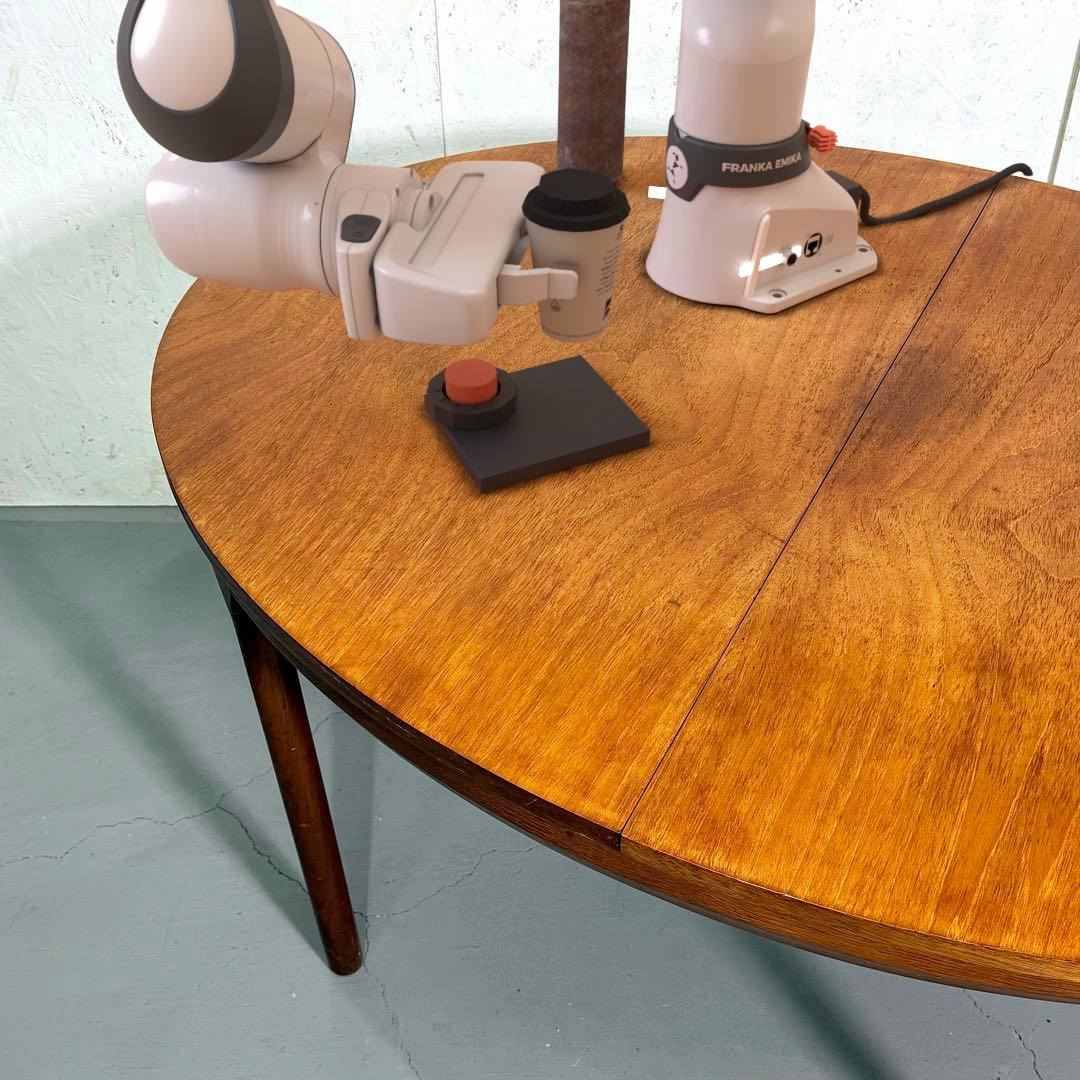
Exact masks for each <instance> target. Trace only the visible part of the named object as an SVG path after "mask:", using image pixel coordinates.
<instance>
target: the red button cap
mask: <svg viewBox="0 0 1080 1080" xmlns="http://www.w3.org/2000/svg"><path fill="white" fill-rule="evenodd" d="M495 367H496V366H494V364H492V363H491V362H489V361H487V360H484V359H479V358H465V359H461V360H457V361H455V362H452V363H451V364H449V365H448V367H446V368H447V369H446V368H445V369H446V371H445V385H446V394H447V396H448V398H449V399H450V400H451V401H454V402H456V403H459V404H470V405H476V404H480V403H484V402H487V401H490V400H492V399H493V398H494V397H495V396H496V394H497V371H496V368H495Z"/></svg>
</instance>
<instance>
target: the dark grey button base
mask: <svg viewBox="0 0 1080 1080" xmlns="http://www.w3.org/2000/svg"><path fill="white" fill-rule="evenodd" d="M494 367H495V368H496V371H497V394H496V396H495V397H494V398H493V399H492V400H490V401H487V402H484V403H480V404H476V405H470V404H459V403H456V402H454V401H451V400H450V399H449V398H448V396H447V394H446V385H445V371H446V369H447V368H448V367H445V368H443V369H442V370H440V372H438V373H436V374H435V375H434V376H432V377H431V378H429V380H428V381H429V382H428V384H427V388H426V390H425V391H426V392H425V394H423V400H424V401H423V402H424V410H425V411H426V412H427V414H428V415H429V417H430V418H431V420H432V421H433V423H434V425H435V426H436V428H437V429H438V431H439V432H440V433H441V435H442V436H443V438H444V439H445V441H446V443H447V444H448V445H449V447H450V449H451V450H452V452H453V453H454V454H455V456H456V457H457V459H458V460H459V462H460V463H461V465H462V466H463V468H464V469H465V471H466V472H467V474H468V476H469V477H470V478H471V480H472V481H473V483H474V484H475V486H476V487H477V490H479V492H480V493H481V494H485V493H488V492H492V491H496V490H499V489H503V488H506V487H509V486H513V485H516V484H521V483H523V482H526V481H529V480H533V479H537V478H540V477H544V476H548V475H551V474H554V473H557V472H562V471H564V470H569V469H572V468H574V467H578V466H582V465H585V464H589V463H592V462H595V461H599V460H602V459H606V458H609V457H612V456H615V455H620V454H622V453H627V452H629V451H633V450H637V449H640V448H644V447H648V446H650V444H651V443H650V442H651V429H650V427H648V426H647V425H646V424H645V423H644V421H642V419H641V418H640V417H639V416H638V415H637V414H636V413H635V412H634V411H633V410H632V409H631V407H630V406H629V405H628V404H627V403H626V402H625V401H624V400H623V399H622V397H620V395H619V394H618V393H617V392H616V391H615V390H614V389H613V388H612V387H611V386H610V385H609V383H608V382H607V381H606V380H605V379H604V378H603V377H602V376H601V375H600V374H599V373H598V372H597V371H596V369H595V368H594V367H593V366H592V365H591V364H590V363H589V362H588V361H587V359H585V358H584V356H583V355H582V354H578V355H574V356H570V357H566V358H562V359H557V360H554V361H551V362H546V363H542V364H538V365H533V366H531V367H527V368H526V367H525V368H523V369H519V370H515V371H511V372H508V371H507V370H505V369H502V368H499V367H496V366H494Z"/></svg>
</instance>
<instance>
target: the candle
mask: <svg viewBox="0 0 1080 1080" xmlns="http://www.w3.org/2000/svg"><path fill="white" fill-rule="evenodd" d="M630 16H631V0H559V17H558V18H559V26H558V27H559V29H558V30H559V31H558V87H557V88H558V90H557V91H558V93H557V97H558V98H557V138H556V139H557V140H556V170H561V169H567V168H572V169H580V170H586V171H591V172H597V173H601V174H603V175H605V176H608V177H609V178H610V179H611V180H612V181H613V183H614V182H616V181H618V182H619V181H621V179H622V177H623V173H624V154H625V153H624V152H625V131H626V108H627V107H626V105H627V82H628V81H627V79H628V61H629V41H630Z"/></svg>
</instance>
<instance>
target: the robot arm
mask: <svg viewBox="0 0 1080 1080" xmlns="http://www.w3.org/2000/svg"><path fill="white" fill-rule="evenodd" d="M816 4H817V0H681V16H680V17H681V19H680V34H679V37H680V38H679V46H678V47H679V48H678V60H677V74H676V87H675V98H674V100H675V101H674V111H673V112H674V113H673V114H672V115H671V116H670V118H669V121H668V128H667V130H668V131H667V137H666V147H665V148H666V149H665V169H664V170H665V172H664V173H665V187H660V186H652V185H651V186H648V198H655V199H663V203H662V209H661V211H660V217H659V220H658V225H657V228H656V232H655V235H654V239H653V242H652V245H651V248H650V249H649V253H648V255H647V257H646V260H645V270H646V273H647V275H648V276H649V278H650V279H651V280H652V281H653V282H654V283H655V284H656V285H658V286H659V287H661V288H662V289H664V290H665V291H667V292H669V293H671V294H674V295H676V296H679V297H681V298H685V299H688V300H690V301H695V302H699V303H700V302H701V303H705V304H711V305H713V304H714V305H723V306H735V307H740V308H744V309H747V310H751V311H755V312H759V313H763V314H774V313H778V312H781V311H783V310H786V309H788V308H791V307H792V306H795V305H798V304H800V303H802V302H805V301H807V300H809V299H812V298H814V297H817V296H820V295H822V294H824V293H826V292H828V291H831V290H833V289H836V288H838V287H840V286H843V285H846V284H848V283H850V282H853V281H855V280H858V279H860V278H862V277H864V276H867V275H869V274H871V273H873V272H876V271H877V268H878V255H877V253H876V252H875V250H874V249H873V247H872V246H871V245H870V244H869V243H868V241H866V240H865V239H864V238H863V237H862V236H860V235H859V234H858V233H859V232H858V231H859V219H860V220H861V222H862V223H863V224H865V225H867V226H871V227H873V226H880V225H886V224H891V223H896V222H903V221H907V220H911V219H914V218H917V217H920V216H922V215H924V214H927V213H929V212H932V211H935V210H938V209H942V208H944V207H948V206H950V205H952V204H955V203H957V202H960V201H963V200H964V199H967V198H968V197H970V196H973V195H975V194H977V193H980V192H981V191H984V190H987V189H988V188H991V187H993V186H995V185H997V184H999V183H1000V182H1002V181H1004V180H1005V179H1007V178H1008V177H1011V176H1012V175H1014V174H1016V173H1022V175H1023V176H1024V177H1033V176H1034V172H1033V169H1032V168H1031V167H1030V166H1029V165H1028V164H1027V163H1025V162H1017V163H1013V164H1011V165H1009V166H1006V167H1005V168H1003V169H1002V170H1001V171H999V172H997V173H995V174H993V175H992V176H991V177H988V178H986V179H984V180H983V179H982V180H981V181H978V182H976V183H973V184H971V185H969V186H966V187H965V188H963V189H960V190H959V191H957V192H954V193H951V194H949V195H945V196H943V197H941V198H937V199H934V200H931V201H928V202H925V203H923V204H921V205H918V206H915V207H914V208H911V209H908V210H906V211H904V212H901V213H898V214H897V215H894V216H893V215H892V216H890V217H889V216H888V217H884V218H878V217H874V216H872V215H870V207H871V196H870V194H869V192H868V191H867V190H866V188H865V187H863V184H861V183H859V182H857V181H855V180H852V179H850V178H848V177H846V176H844V175H843V174H840V173H838V172H835V171H833V170H832V169H830V170H827V171H824V170H823V169H822V168H821V167H820V166H819V165H817V163H815V162H814V161H813V160H812V155H811V150H810V147H811V148H812V149H815V150H816V151H817V152H819V153H820V154H822V155H827V154H830V153H831V152H833V151H834V148H836V147H837V144H836V143H838V142H839V141H838V140H839V139H838V138H839V137H838V135H837V132H835V131H834V130H832V129H828V128H827V127H826V126H825V125H822V124H818V125H815V126H814V127H812V126H811V123H810V122H809V121H806V120H805V119H804V118H802V116H803V111H804V102H805V97H806V90H807V85H808V77H809V71H810V64H811V58H812V51H813V44H814V39H815V33H816V32H815V31H816V6H817V5H816ZM116 68H117V74H118V79H119V83H120V86H121V90H122V94H123V96H124V98H125V101H126V103H127V105H128V107H129V109H130V112H132V114H133V116H134V118H135V119H136V121H137V123H138V124H139V125H140V127H141V128H142V129H143V130H144V131H145V132H146V134H148V135H149V137H150V138H151V139H152V140H154V142H156V143H157V144H158V145H159V146H160V147H162V148H164V149H165V150H167V152H166V153H165V154H164V155H163V157H162V158H161V159H160V160H159V161H158V162H157V163H156V164H155V165H154V166H153V167H152V168H151V169H150V171H149V173H148V175H147V178H146V182H145V189H144V206H145V214H146V219H147V223H148V226H149V230H150V232H151V235H152V237H153V239H154V241H155V244H156V245H157V247H158V249H159V250H160V252H161V253H162V255H163V256H164V257H165V258H166V260H167V261H168V262H169V263H170V264H171V265H173V266H174V268H177V269H178V270H179V271H181V272H183V273H185V274H186V275H189V276H191V277H194V278H197V279H199V280H203V281H205V282H209V283H212V284H219V285H222V286H229V287H233V288H234V287H235V288H241V289H247V290H254V291H262V292H270V293H271V292H272V293H289V292H293V291H298V290H311V291H315V292H316V291H317V292H319V293H322V294H324V295H327V296H329V297H332V298H336V299H340V300H341V305H342V311H343V316H344V322H345V326H346V332H347V335H348V337H349V338H350V339H352V340H356V341H361V342H362V341H363V342H372V341H373V342H374V341H377V340H378V339H379V338H381V337H382V336H385V337H386V338H388V339H390V340H393V341H396V342H402V343H408V344H417V345H425V346H426V345H427V346H440V347H455V348H456V347H467V346H471V345H475V344H479V343H481V342H485V341H486V340H487V339H488V338H489V337H490V335H491V332H492V331H493V328H494V325H495V323H496V321H497V318H498V317H499V315H500V312H501V309H502V308H503V306H511V307H521V306H525V305H529V304H533V303H538V301H542V300H546V299H548V298H552V299H564V300H572V299H574V298H575V297H576V295H577V292H578V289H579V286H580V268H579V266H577V265H576V264H572V263H569V264H565V263H561V262H553V263H552V265H551V267H548V268H538V269H533V268H529V269H523V267H522V263H523V261H524V257H525V256H526V254H527V252H528V249H529V247H530V241H529V234H528V226H527V219H526V217H525V216H524V214H523V211H522V204H523V202H524V200H525V198H526V196H527V194H528V192H529V191H530V190H532V189H533V188H534V187H536V186H538V185H539V183H540V178H541V175H544V174H546V169H545V168H544V167H543V166H541V165H539V164H536V163H534V162H531V161H526V160H525V161H522V160H462V161H455V162H451V163H448V164H447V165H444V166H443V167H442V168H441V169H440V170H439V171H438V173H437V175H434V176H433V177H431V176H426V177H423V179H421V177H420V175H419V174H418V172H417V171H416V170H415V169H413V168H410V167H398V166H385V165H371V164H360V163H346V159H347V155H348V151H349V145H350V141H351V136H352V135H351V134H352V130H353V129H352V128H353V122H354V115H355V109H356V96H357V95H356V94H357V93H356V92H357V91H356V81H355V75H354V71H353V68H352V65H351V62H350V60H349V58H348V56H347V54H346V53H345V51H344V49H343V47H342V45H341V44H340V43H339V42H338V40H337V39H336V38H335V37H334V36H333V35H332V34H331V32H329V31H327V30H326V29H324V27H322V26H320V25H318V24H317V23H315V22H314V21H311V20H309V19H308V18H306V17H305V16H303V15H300V14H298V13H296V12H294V11H292V10H290V9H288V8H286V7H284V6H281V5H279V4H278V5H277V3H276V0H127V3H126V5H125V7H124V11H123V14H122V16H121V20H120V24H119V28H118V32H117V39H116ZM858 211H859V213H858ZM858 214H859V215H858Z"/></svg>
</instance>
